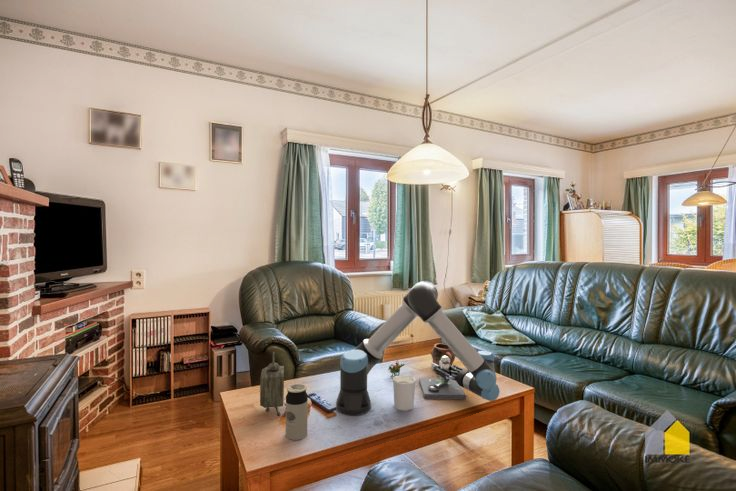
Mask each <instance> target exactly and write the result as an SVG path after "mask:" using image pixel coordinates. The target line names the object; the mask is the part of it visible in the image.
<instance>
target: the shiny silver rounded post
mask: <svg viewBox="0 0 736 491" xmlns="http://www.w3.org/2000/svg"><path fill="white" fill-rule="evenodd" d="M449 363H450V358H449V357H448V356H442V357H441V368H443V369H446V370H449ZM440 379H441V382H440V383H438V384H437V385H429V386H428V389H429V390H430V391H439V387H440V386H442V385H444V384H446V383H448V382H449V381H447V380H446V379H445V378H443V377H441V376H440Z"/></svg>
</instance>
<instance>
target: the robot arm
mask: <svg viewBox="0 0 736 491" xmlns="http://www.w3.org/2000/svg"><path fill="white" fill-rule="evenodd" d="M438 297H439V291H438V290H437V286H436V285H434V284H433V283H432V282H430V281H428V280H420V281H418V282H416V283H415V284H414V285H413V286H412V287H411V288H410V289H409V291H408V292H407V293H406V294H405V295H404V296H403V297H402V303H401V304H400V305H399V306H398V307H397V308H396V310H395V311H394V312H393V313H392V314H391V315H390V316H389V317H388V318H387V319H386V320H385V322H383V324H382V325H381V326H380V327H379V328H378V329H377V330H376V331H375V332H374V333H372V334H373V335H371V337H370V338H365V339H363V340H362V342H360V343H359V344H358V345H357V347H355V348H354V349H350V350H347V351H345V352H343V353H342V355H341V356H340V361H339V366H340V368H339V369H340V370H339V371H340V376H339V377H340V378H339V379H340V381H339V382H340V384H339V385H340V388H339V392H338V396H337V399H336V400H335V401H336V402H335V409H336V410H337V412H338V413H340V414H344V415H346V416H347V415H348V416H360V415H363V414H366V413H368V412H369V411H371V409H372V401H371V398H370V397H371V396H370V395H369V390H368V375H369V373H370V372H371V371H372V370H373V367H375V366H376V364H378V363H379V361H380V360H381V359H382V358H383V356H384V355H383V353H384V351H385V350H386V349H387V348H388V347H389V346H390V345H391V344H392V343H393V342H394V341H395V340H396V339H397V337H399V336H400V335H401V333H402V332H404V331H405V330H406V328H407V327H408V326H409V325H410V324H411V323H412V322H413V321H414V320H415V319H416V318H417V317H419V318H420V319H421V320H422V322H423V323H427V324H428V325H429V326H430V327H431V328H432V330H433V331H434V332H435V333H436V334H437V335H438V336H439V338H440V339H441V340H442V342H444V344H446V345H447V346H448V347H449V348H450V349H451V350H452V352H453V353H454V354H455V357H456V358H457V359H458V360H459V361H460V362H461V364H462V365H463V366H464V368H463V367H461V366H458V365H456V364H452V365H449V370H446V369H443V368H441V361H439V365H437V364H435V363H433V362H431V363H430V368H431V369H432V370H433V369H434V370H436V371H435V374H436V375H437V376H439V377H440V378H441V377H443V378H445V379H446V380H447V381H449V379H452V380H455V381H457V383H458V385H460V386H461V387H462V389H463V388H464V389H466V390H467V391H470V392H471V393H473V394H475V395H477V396H478V397H480V398H482V399H483V400H486V401H489V402H493V401H495V400H497V399H498V397H499V395H500V387H499V385H498V384H497V374H496V369H495V355H494V353H493V352H491V351H488V350H478V351H477V349H475V347H474V346H473V345H472V344H471V343H470V341H469V340H468V339H466V337H465V335H463V334H462V332H461V331H460V330H459V329H458V328H457V326H456V325H455V324H454V323H453V322H452V321H451V319H450V318H449V317H448V316H447V315H446V314H445V312H443V307H442V305H441V304H440V303H439V302H438ZM465 368H466V369H465ZM434 370H433V371H434Z"/></svg>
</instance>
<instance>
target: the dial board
mask: <svg viewBox="0 0 736 491" xmlns="http://www.w3.org/2000/svg"><path fill="white" fill-rule="evenodd" d="M418 380H419V382H418V383H419V385H420V386H419V387H420V389H421V392H422V395H423V399H426V400H427V399H434V400H435V399H437V400H466V399H467V395H466V392H465V391H464V389H463V387H461V386H460V385H458V383H457V381H455V380H452V379H449V382H448V383H446V384H444V385H442V386H440V387H439V391H430V390H429V389H428V386H429V385H437V384H438V383H440V382H441V378H435V377H432V378H431V377H430V378H428V377H427V378H426V377H422V378H421V377H419V379H418Z"/></svg>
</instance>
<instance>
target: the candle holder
mask: <svg viewBox="0 0 736 491" xmlns="http://www.w3.org/2000/svg"><path fill="white" fill-rule="evenodd" d="M397 375H398V374H397ZM397 375H395V376H393V377H392V382H393V386H392V387H393V402H394V404H393V405H394V407H395V408H396V409H397V410H399V411H411V410H412V409H413V408H414V405H415V403H414V402H415V393H416V392H415V390H416V378H415V377H414V376H412V375H407V374H399V375H398V376H397Z"/></svg>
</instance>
